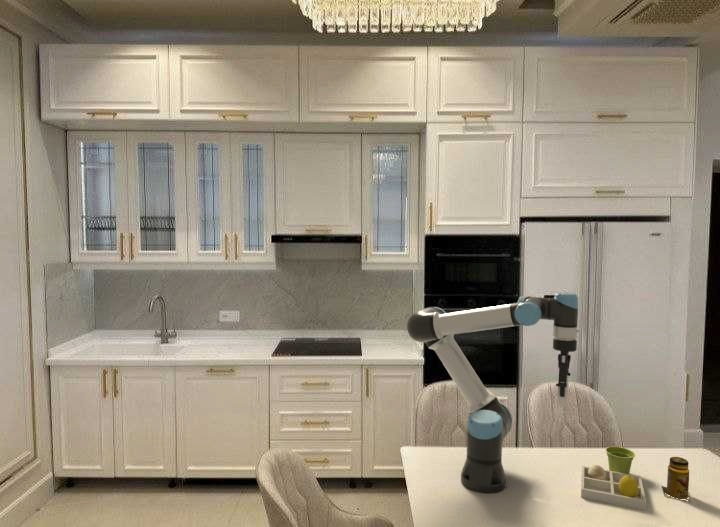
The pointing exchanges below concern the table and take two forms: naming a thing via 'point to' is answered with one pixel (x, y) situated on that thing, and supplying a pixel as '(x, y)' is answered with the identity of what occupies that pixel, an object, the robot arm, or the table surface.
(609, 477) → the tray
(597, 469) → the beige rounded ball
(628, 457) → the plant pot
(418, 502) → the table surface
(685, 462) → the condiment
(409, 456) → the table surface
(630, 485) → the lemon
